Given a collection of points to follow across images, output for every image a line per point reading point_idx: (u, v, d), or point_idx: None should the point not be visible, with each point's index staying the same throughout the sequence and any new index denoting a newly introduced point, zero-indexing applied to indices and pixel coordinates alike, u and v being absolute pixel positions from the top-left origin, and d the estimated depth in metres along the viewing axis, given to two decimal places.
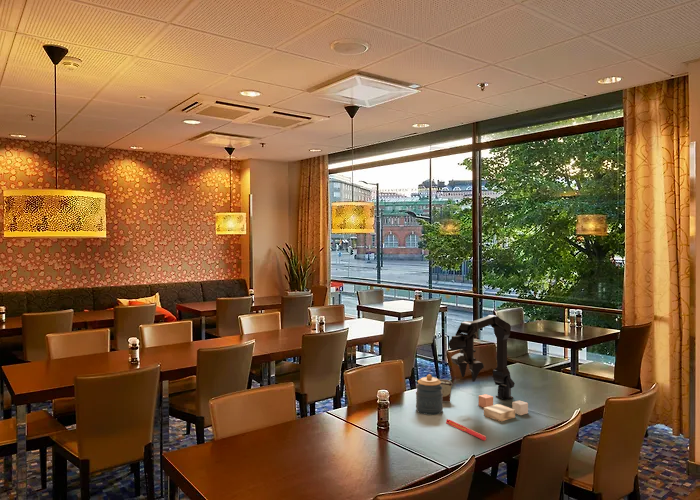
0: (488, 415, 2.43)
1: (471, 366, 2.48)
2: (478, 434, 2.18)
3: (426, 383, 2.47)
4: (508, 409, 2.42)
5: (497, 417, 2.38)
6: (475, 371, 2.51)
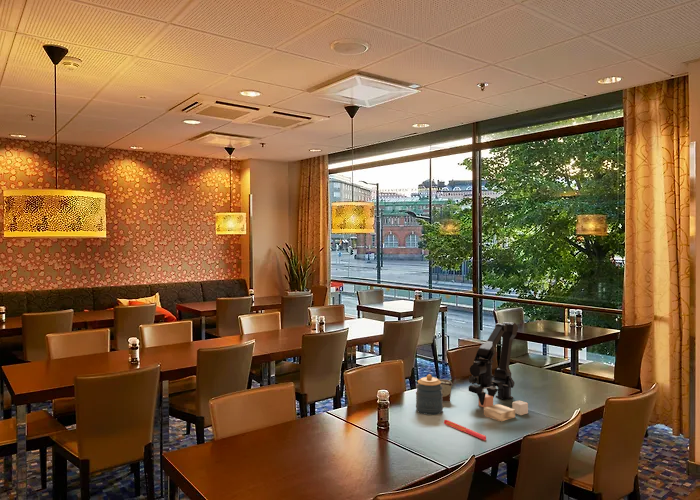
0: (488, 415, 2.43)
1: None
2: (478, 434, 2.18)
3: (426, 383, 2.47)
4: (508, 409, 2.42)
5: (498, 417, 2.38)
6: (480, 395, 2.56)
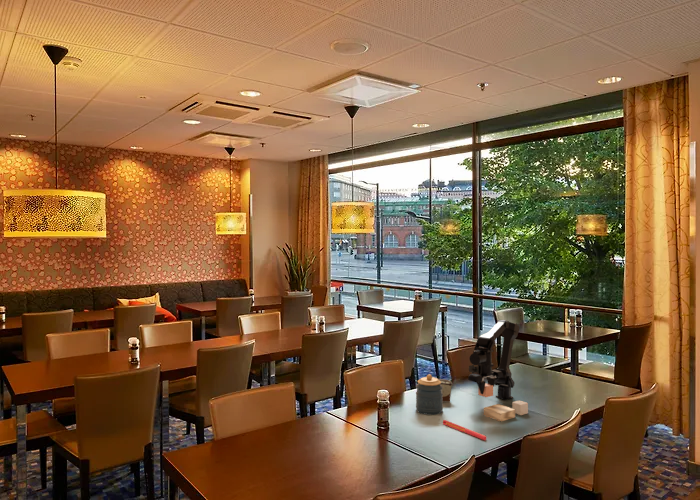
0: (488, 415, 2.43)
1: None
2: (478, 434, 2.18)
3: (426, 383, 2.47)
4: (508, 409, 2.42)
5: (498, 417, 2.38)
6: (480, 384, 2.56)
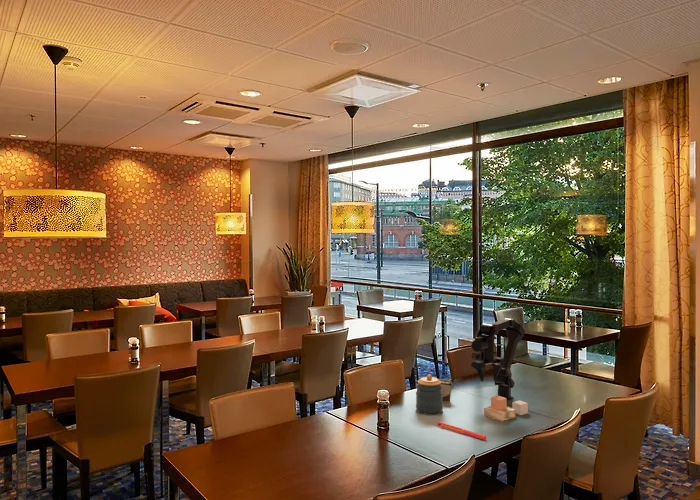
0: (488, 415, 2.43)
1: None
2: (477, 434, 2.18)
3: (426, 383, 2.47)
4: (508, 409, 2.42)
5: (498, 417, 2.38)
6: (480, 371, 2.59)
